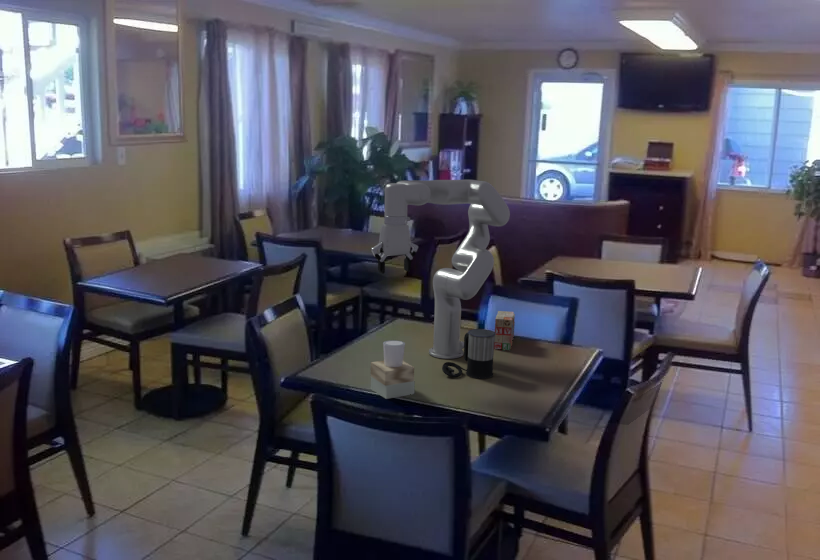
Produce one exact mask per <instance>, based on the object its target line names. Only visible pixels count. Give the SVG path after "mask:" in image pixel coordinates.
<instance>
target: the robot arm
mask: <svg viewBox="0 0 820 560" xmlns="http://www.w3.org/2000/svg"><path fill="white" fill-rule="evenodd" d="M427 203H428V204H432V205H433V204H434V205H443V206H444V205H463V204H465V205H466V204H469V207H468V210H467V214H468V215H467V216H468V223H469V224H468V225H469V226H468V232H467V234H466V236H465V237H464V239H463V240H462V241H461V243H460V245H459V246H458V248H457V249H456V251H455V252H454V253H453V255H452V257H451V265H452V267H454V268H451V267H450V268H449V267H443V268H439V269H438V270H437V271H436V272H435V273H434V275H433V278H432V287H433V288H432V289H433V294H434V296H433V297H434V315H433V318H434V322H433V323H434V324H433V342H432V343H433V346H432V347H431V348H429V349H428V354H429V355H430V356H432V357H433V358H438V359H446V360H447V359H448V360H449V359H451V360H453V359H458V358H461V357H464V340H463V341H462V340H461V323H462V322H461V319H462V318H461V317H462V306H461V305H462V303H461V300H466V301H468V300H471V299H472V298H473V297H475V296H476V295H477V293H478V292H479V290H480V289H481V288H482V286H483V285H484V283H485V282H486V280H487V279H488V277H489V275H490V274H491V273H492V271H493V268H494V263H495V260H494V259H495V258H494V255H493V253H492V252H491V251H489V250H488V249H487V247H488V246H489V243H490V238H491V237H490V230H489V226H493V227H504V226H505V225H506V224H507V223H508V222H509V220H510V217H511V216H510V215H511V212H510V208H509V206H508V204H507V202H506V201H505V200H504V198H503V197H502V196H501V194H500V193H499V192H498V190H497V189H496V187H494V186H493V185H492V184H491V183H490V182H488V181H485V180H476V179H433V180H432V179H431V180H430V179H429V180H418V179H417V180H399V181H397V182H396V183H395V182H391V183H387V184H385V187H384V218H383V219H384V222H383V223H384V224H381V227H380V232H379V239H378V243H377V244H376V245H375V246H373V247H371V248H370V250H371V253H372V255H373V257H374V258H375V260H377V270H378V273H380V274H385V273H386V262H385V260H386V258H387V257H390V256H391V257H392V256H404V257H405V258H404V259H403V271H406V272H411V268H412V260H413V258H414V256H415V255H416V254H417V252H418V249H419V245H417V244H415V243H414V242H411V233H410V227H409V224H408V222H410V221H411V216H408V206H409V205H411V206H422V205H425V204H427ZM411 248H412V249H411Z"/></svg>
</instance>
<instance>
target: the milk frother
mask: <svg viewBox="0 0 820 560" xmlns="http://www.w3.org/2000/svg"><path fill="white" fill-rule="evenodd" d="M495 335H496V333H495V331H493V330H490V329H485V328H473V329H470V330H468V331H467V332H466V333H465V334H464V337H463V342H464V348H463V360H464V361H465V362H467V365H466V369H465V368H463V367H462V366H460V365H459V364H457V363H455V362H453V361H451V362H450V361H446V362H444V363H443V364H442V366H441V368H442V372H443V374H445V375H446V376H447V377H452V378H458V377H461V376H462V375H463V371H465V374H466V376H468V377H469V378H474V379H490V378H492V377H493V376H494V372H493V371H494V370H493V369H494V353H495V350H494V341H495ZM452 367H453V368H455V369H457V371H458V372H456V373H454V372H455V369H453V368H452Z"/></svg>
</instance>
